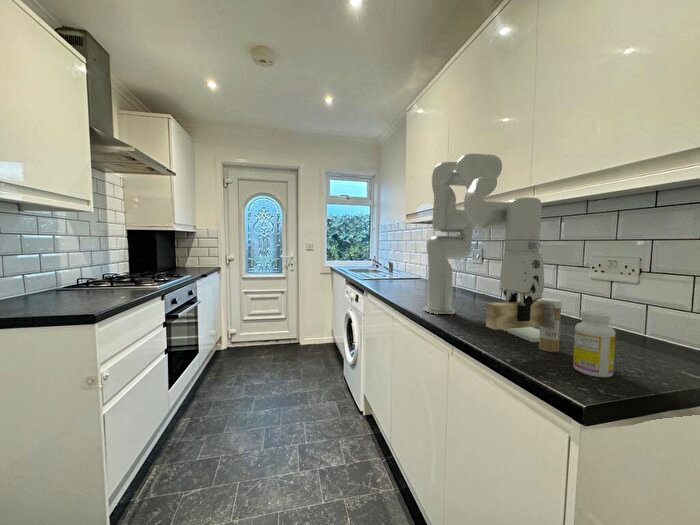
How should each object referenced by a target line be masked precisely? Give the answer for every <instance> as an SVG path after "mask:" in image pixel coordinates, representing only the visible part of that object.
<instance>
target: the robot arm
mask: <svg viewBox="0 0 700 525" xmlns="http://www.w3.org/2000/svg"><path fill="white" fill-rule="evenodd" d="M502 170H503V162H502V160H501V158H500V157H498V155H494V154H485V153H467V154H464V155H462V156H461V157H459V159H458V160H457V161H444V162H440V163H438V164H437V165H435V167H434V168H433V172H432V174H431V188H432V193H433V207H432V229H433V230H434V231H435V232H437V233H449V234H450V233H453V234H454V233H455V234H456V235H435V236H431V237H430V238H429V239H428V240H427V243H426V251H427V260H428V272H427V274H428V278H427V283H428V284H427V299H426V303H427V306H424V307H423V312H425V311H426V312H425V313H427V312H429V313H428V314H431V313H434V314H433V315H438V314H451V315H454V314H455V313H456V309H455V308H452V300H453V297H452V296H453V268H452V265H451V263H450V262H449V260H464V259H467V258H468V257H469V256H470V253H471V250H472V243H473V234H474V233H473V232H474V227H476V228H477V229H481V230H482V229H483V230H499V231H500V230H502V231H505V233H504V234H505V235H504V236H505V238H504V252H503V257H502V259H501V260H502V262H501V267H500V283H499V284H500V286H499V290H500V291H501V292H502V294H503V296H504V297H505V302H520V305H518V313H517V320H518V321H530V311H531V306H533V303H534V302H535V301H536V300H537V301H539V300H541V299H543V293H544V291H545V290H544V289H545V268H544V260H543V259H544V258H543V255H542V253H540V248H541V247H542V244H541V243H540V242H541V241H540V240H541V225H542V222H541V221H542V206H543V205H542V201H541V200H540V199H539V198H537V197H526V196H525V197H518V198H513V199H510V200H509V201H508V202H506V201H505V202H504V201H486V200H485V199H484V198H486V197H487V196H490V195H491V194H493V192H494V191H495V189H496V187H497V186H498V179H497V178H499V177H500V175H501V173H502ZM451 186H458V187H466V188H465V189H466V193H465V195H464V198H463V199H464V200H463V208H464V209H458V208H457V207H456V204H457V196H456V193H455V192H454V190H453V188H452V187H451Z"/></svg>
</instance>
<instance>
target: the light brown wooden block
mask: <svg viewBox="0 0 700 525" xmlns="http://www.w3.org/2000/svg"><path fill="white" fill-rule="evenodd" d="M518 305H520V301H517V302H506V301H505V302H504V301H503V302H502V301H501V302H487V303H486V304H485V306H486V310H485V313H486V314H485V327H488V328H489V329H492V330H502V329H509V328H525V327H533V328H537V327H538V328H540V327H542V326H543V327H546V328H549V329H553V328H554V319H555V305H554V304H550V303H546V302H541V300H536V301H535V302H534V303H533V306H531V311H530V321H518V320H517V313H518Z"/></svg>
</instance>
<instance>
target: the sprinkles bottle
mask: <svg viewBox="0 0 700 525" xmlns="http://www.w3.org/2000/svg"><path fill="white" fill-rule="evenodd" d="M540 301H541V302H546V303H550V304H554V305H555V319H554V328H553V329H549V328H546V327H543V326H542V327H539V330H540V335H539V336H540V341H539V342H538V343H539V344H538V349H540V350H542V351H545V352H548V353H559V352H560V338H561V313H562V312H561V310H562V308H563V301H562V300H560V299H556V298H543V297H542V298H541V299H540Z"/></svg>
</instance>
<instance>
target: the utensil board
mask: <svg viewBox="0 0 700 525" xmlns="http://www.w3.org/2000/svg"><path fill="white" fill-rule="evenodd" d="M501 331H504V332H506V331H507V332H506V333H509V334H512V335H514V336H516V337H519V338H521V339H524V340H526V341H529V342H530V343H539V341H540V336H539V335H540V329H538V328H536V327H525V328H509V329H501Z"/></svg>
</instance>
